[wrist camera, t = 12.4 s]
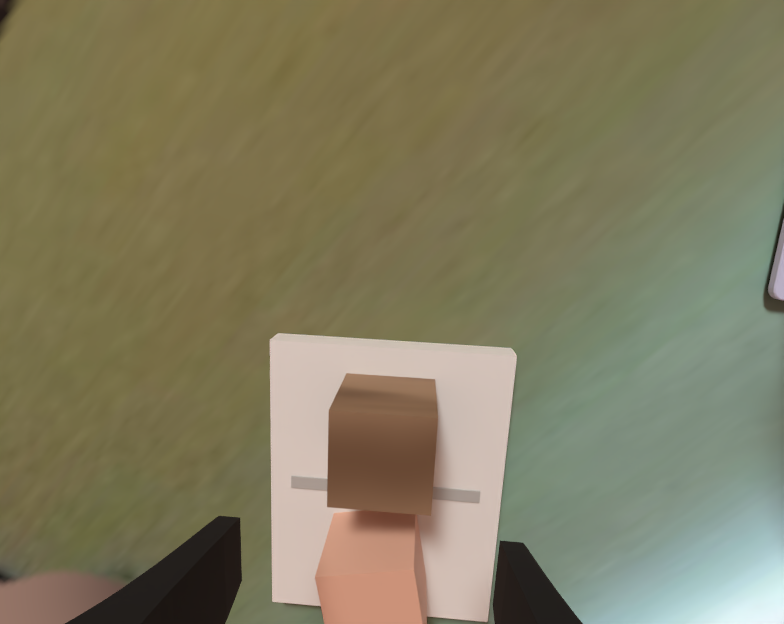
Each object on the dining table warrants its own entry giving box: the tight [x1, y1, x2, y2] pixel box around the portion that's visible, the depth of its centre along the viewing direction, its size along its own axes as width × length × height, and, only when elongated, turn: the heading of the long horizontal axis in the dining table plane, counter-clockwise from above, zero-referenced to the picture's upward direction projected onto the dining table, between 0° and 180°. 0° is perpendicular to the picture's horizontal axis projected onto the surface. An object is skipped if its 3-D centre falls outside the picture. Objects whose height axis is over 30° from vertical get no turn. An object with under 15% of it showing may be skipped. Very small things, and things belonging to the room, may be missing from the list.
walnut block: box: [327, 373, 438, 516], centre depth 19 cm, size 4×4×4 cm
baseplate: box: [270, 333, 517, 622], centre depth 22 cm, size 11×14×1 cm
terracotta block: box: [315, 510, 427, 624], centre depth 20 cm, size 4×4×4 cm
